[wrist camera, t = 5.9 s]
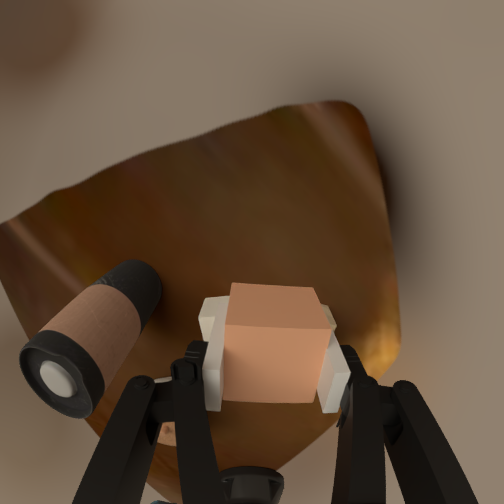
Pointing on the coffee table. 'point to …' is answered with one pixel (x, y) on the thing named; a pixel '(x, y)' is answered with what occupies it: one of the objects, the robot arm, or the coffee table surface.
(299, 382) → the cube terracotta
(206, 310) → the cube cream
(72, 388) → the travel mug
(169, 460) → the coffee table surface
